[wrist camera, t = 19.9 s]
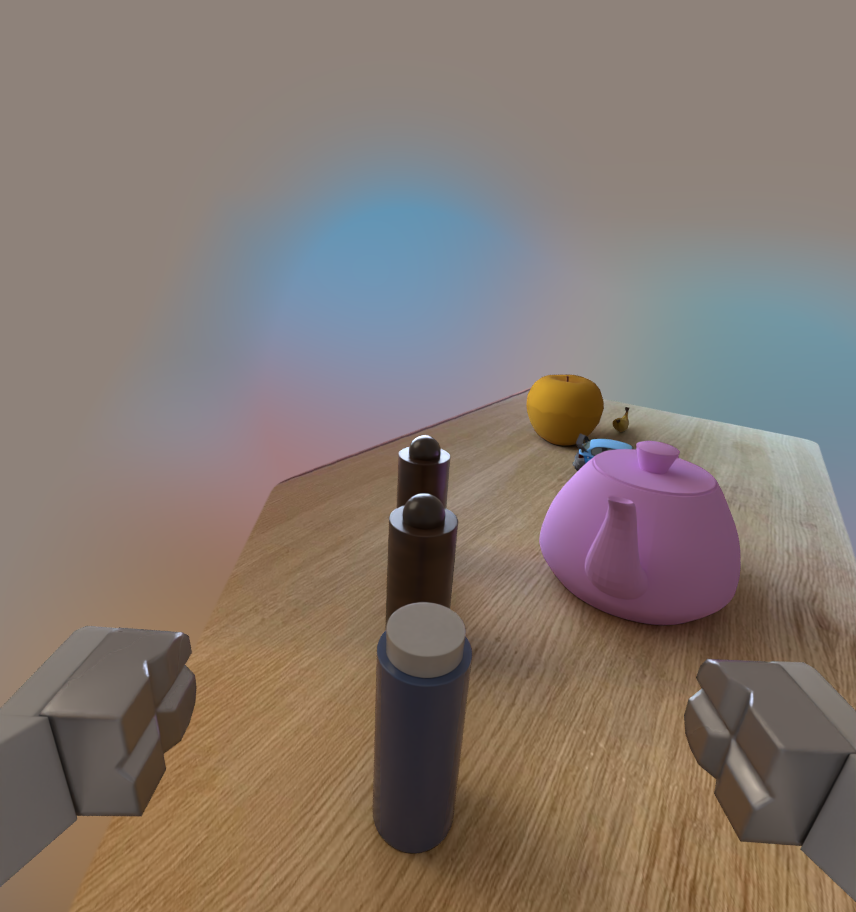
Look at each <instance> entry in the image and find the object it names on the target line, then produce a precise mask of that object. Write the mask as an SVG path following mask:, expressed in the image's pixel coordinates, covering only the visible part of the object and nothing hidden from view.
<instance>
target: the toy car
mask: <svg viewBox="0 0 856 912" xmlns="http://www.w3.org/2000/svg"><path fill="white" fill-rule="evenodd" d="M583 440H585V443H584V444H583ZM587 441H588V442H587ZM576 444H577V447H578V449H579V452H578V453H577V454H576V456H575V462H573V466H575V469H576V470H577V471H579V470H580V468H582V467H583V466H584V465H585V464H586V463H587V462H588V461H589V460H591V459H592V458H593V457H594V456H596V455H597V454H599V453H602V452H604V451H608V450H616V449H633V450H635V449H634V448H633V447H632V446H631V445H629V444H627V443H624V442H620V441H615V440H609V439H593V440H589V439H588V437H587V436H585V435H583V434H581V433H580V434H579V437H578V439H577V441H576Z"/></svg>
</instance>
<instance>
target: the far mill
mask: <svg viewBox="0 0 856 912" xmlns="http://www.w3.org/2000/svg"><path fill="white" fill-rule="evenodd" d="M449 467H450V455H449V453H447V452H446V451H444V450H442V449H441V448H440V445H439V443H438V442H437V441H436V440H435V439H434V438H432V437H430V436H420V437H417V438H416V439H414V440H413V441H412V443H411V444H410V447H408V448H405V449H403V450H401V451H400V452H399V461H398V486H397V508H399V507H401V506H405V504H406V502H407V501H408V500H409V499H410V498H411V497H413V496H415V495H417V494H421V493H427V494H431V495H433V496H435V497H437V498H438V499H439V500H440V501H441V502H442V504H443V506H444V508H446V504H447V492H448V480H449Z"/></svg>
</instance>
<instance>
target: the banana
mask: <svg viewBox="0 0 856 912" xmlns="http://www.w3.org/2000/svg"><path fill="white" fill-rule="evenodd" d="M625 410H626V413H625V415H624V416H623V417H622V418H617V419H615V420H614V421H613V426H614V428H615V429H616V430H617V431H619V432H623V431H625V430H627V428H628V425H629V420H628V410H629V408H628V407H625Z"/></svg>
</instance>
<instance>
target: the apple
mask: <svg viewBox="0 0 856 912" xmlns="http://www.w3.org/2000/svg"><path fill="white" fill-rule="evenodd" d="M603 409H604V402H603V398H602V395H601V392H600V389H599V388H598V387H597V385H596V384H595V383H593V382H592V381H591V380H588V379H586V378H584V377H581V376H576V375H548V376H544V377H542V378H540V379H539V380H538V381H537V382H535V383H534V385H533V386H532V387H531V389H530V391H529V393H528V397H527V413H528V416H529V419H530V422H531V424H532V426H533V428H534V429H535V431H536V432H537V434H538V435H539V436H541V437H542V438H543V439H545V440H547V441H549V442H550V443H552V444H556V445H562V446H567V445H574V444H576V441H577V439H578V437H579V434H580V433H581V434H583V435H585V436H587V437H588V436H589V435H590V434H591V433H592V431H593V430H594V429H595V427H596V426H597V425H598V423H599V421H600V418H601V415H602V412H603Z"/></svg>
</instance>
